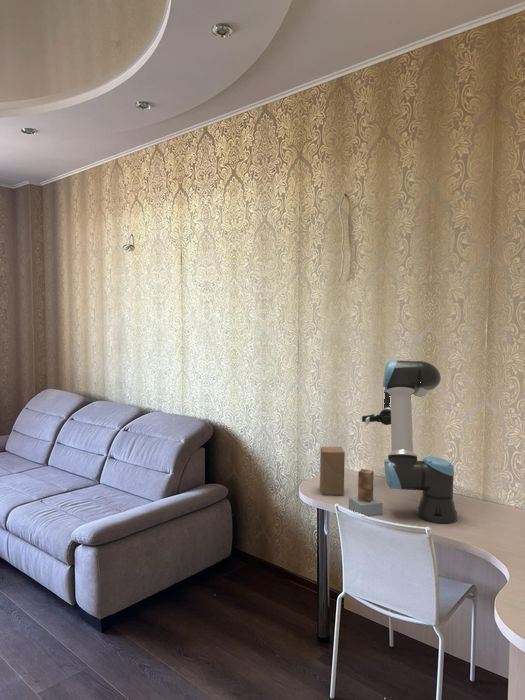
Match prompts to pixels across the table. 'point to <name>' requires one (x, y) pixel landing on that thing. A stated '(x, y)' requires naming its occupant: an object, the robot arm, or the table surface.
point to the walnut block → (365, 485)
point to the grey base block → (365, 506)
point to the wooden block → (332, 470)
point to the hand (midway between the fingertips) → (381, 423)
